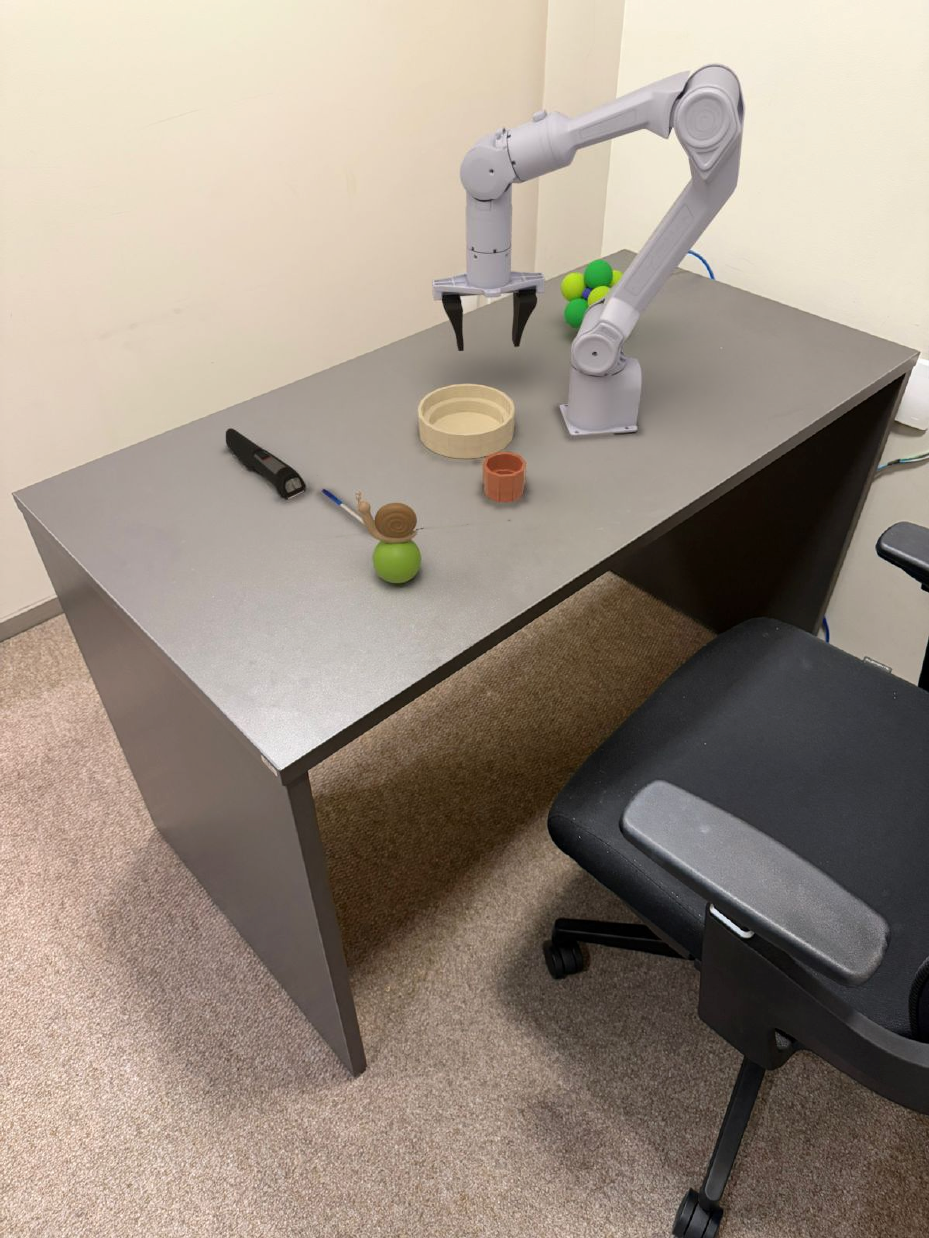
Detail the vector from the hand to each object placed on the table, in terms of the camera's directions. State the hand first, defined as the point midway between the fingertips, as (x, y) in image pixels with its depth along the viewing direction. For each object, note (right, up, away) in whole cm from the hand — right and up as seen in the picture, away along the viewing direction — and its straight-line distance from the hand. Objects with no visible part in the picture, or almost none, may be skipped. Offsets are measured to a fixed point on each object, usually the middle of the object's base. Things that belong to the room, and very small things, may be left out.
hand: (488, 345), depth 118 cm
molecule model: (+17, +8, +22) cm, 29 cm away
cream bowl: (-3, -12, +1) cm, 12 cm away
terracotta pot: (+2, -21, -8) cm, 23 cm away
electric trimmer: (-30, -18, -4) cm, 35 cm away
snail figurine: (-11, -33, -19) cm, 40 cm away
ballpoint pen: (-18, -24, -10) cm, 32 cm away
